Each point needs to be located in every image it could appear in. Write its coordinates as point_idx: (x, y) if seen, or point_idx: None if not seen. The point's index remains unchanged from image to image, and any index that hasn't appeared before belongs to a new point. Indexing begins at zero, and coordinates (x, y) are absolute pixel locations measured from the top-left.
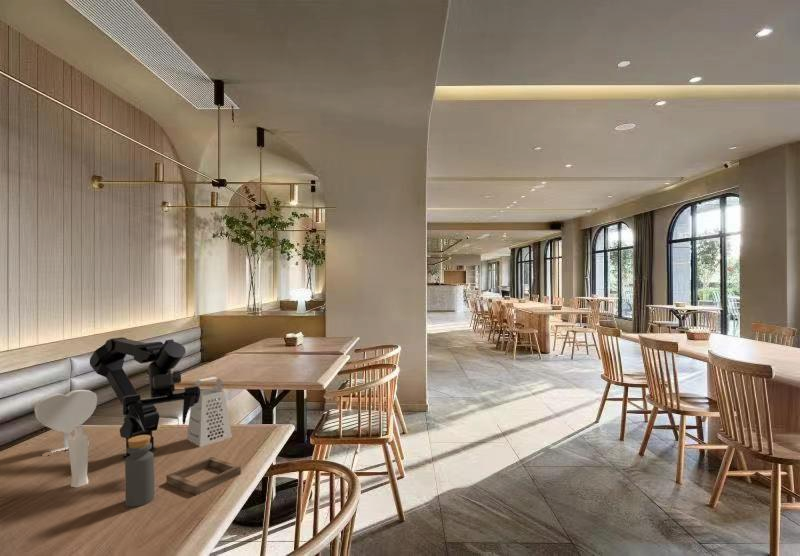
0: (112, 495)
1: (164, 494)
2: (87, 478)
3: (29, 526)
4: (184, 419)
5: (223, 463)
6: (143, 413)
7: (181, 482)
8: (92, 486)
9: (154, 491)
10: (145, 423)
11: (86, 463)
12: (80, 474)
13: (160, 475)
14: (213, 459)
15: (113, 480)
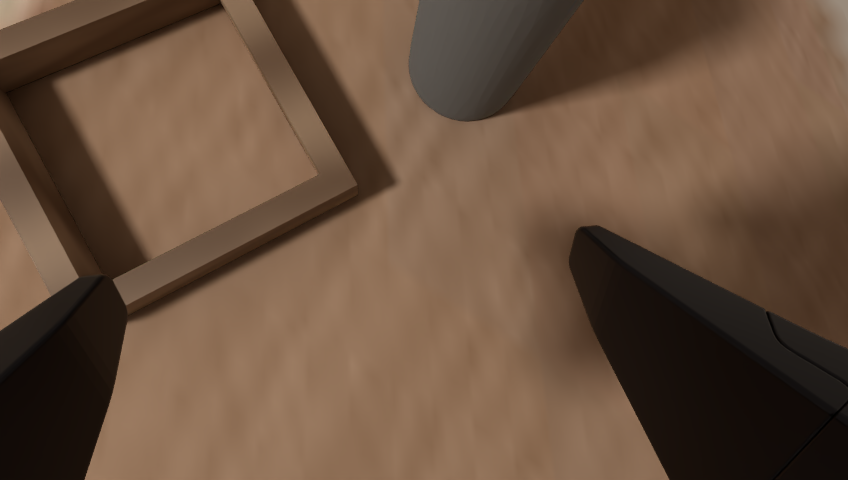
0: (582, 199)
1: (366, 71)
2: None
3: (807, 93)
4: (64, 297)
5: (17, 169)
6: (780, 369)
7: (285, 59)
8: None
9: (410, 53)
10: (625, 261)
11: None
12: None
13: (388, 321)
14: (66, 279)
15: (608, 388)
